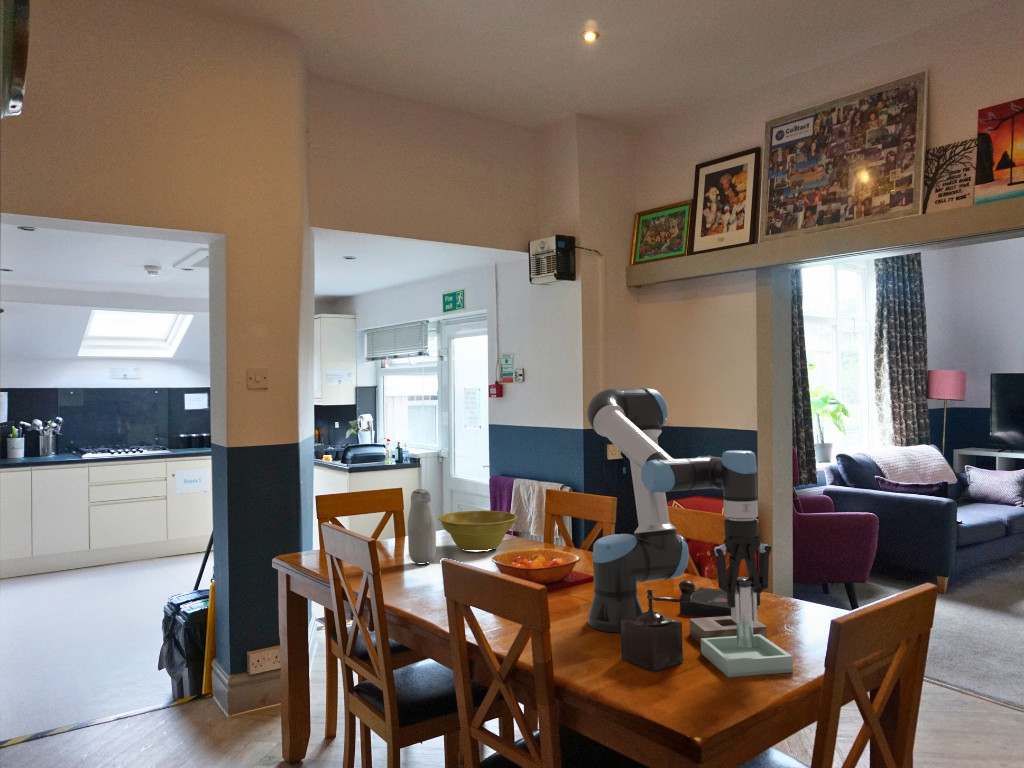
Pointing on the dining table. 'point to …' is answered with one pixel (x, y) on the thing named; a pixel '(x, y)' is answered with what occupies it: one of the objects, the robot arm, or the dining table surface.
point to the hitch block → (720, 627)
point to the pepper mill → (654, 635)
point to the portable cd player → (707, 603)
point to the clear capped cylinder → (745, 612)
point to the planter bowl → (477, 528)
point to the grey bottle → (421, 528)
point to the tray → (746, 656)
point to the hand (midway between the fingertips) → (744, 620)
